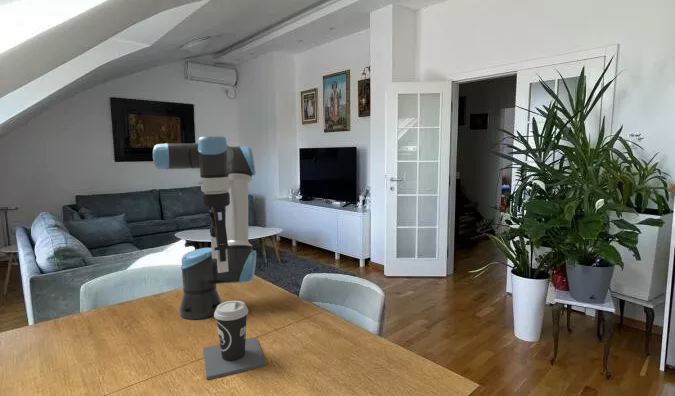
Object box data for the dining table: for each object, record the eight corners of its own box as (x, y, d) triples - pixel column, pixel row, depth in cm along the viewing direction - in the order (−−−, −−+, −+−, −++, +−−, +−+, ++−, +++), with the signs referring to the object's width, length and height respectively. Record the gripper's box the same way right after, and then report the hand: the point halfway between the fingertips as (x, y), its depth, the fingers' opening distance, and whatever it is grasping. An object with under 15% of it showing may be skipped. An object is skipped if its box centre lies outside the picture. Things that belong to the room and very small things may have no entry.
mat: (203, 350, 114) (203, 347, 114) (256, 339, 120) (256, 336, 120) (206, 379, 99) (206, 376, 99) (266, 365, 105) (266, 362, 105)
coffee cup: (241, 366, 104) (238, 314, 102) (210, 362, 106) (206, 312, 104) (255, 348, 113) (253, 300, 111) (226, 345, 115) (223, 298, 113)
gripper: (197, 187, 115) (202, 254, 118) (205, 199, 92) (211, 281, 95) (223, 186, 118) (226, 251, 121) (236, 197, 95) (240, 276, 99)
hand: (219, 264), depth 108 cm, fingers open, 13 cm apart
